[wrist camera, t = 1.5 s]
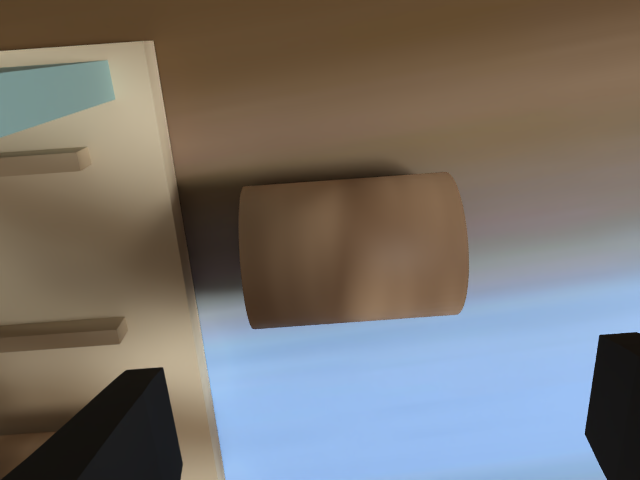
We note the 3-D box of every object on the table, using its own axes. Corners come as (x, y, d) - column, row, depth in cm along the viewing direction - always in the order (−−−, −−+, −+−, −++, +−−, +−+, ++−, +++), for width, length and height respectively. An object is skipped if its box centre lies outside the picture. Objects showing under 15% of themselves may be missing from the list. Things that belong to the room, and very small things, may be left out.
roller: (433, 283, 18) (467, 340, 14) (262, 295, 18) (250, 356, 14) (431, 161, 17) (470, 186, 13) (249, 175, 17) (232, 204, 13)
